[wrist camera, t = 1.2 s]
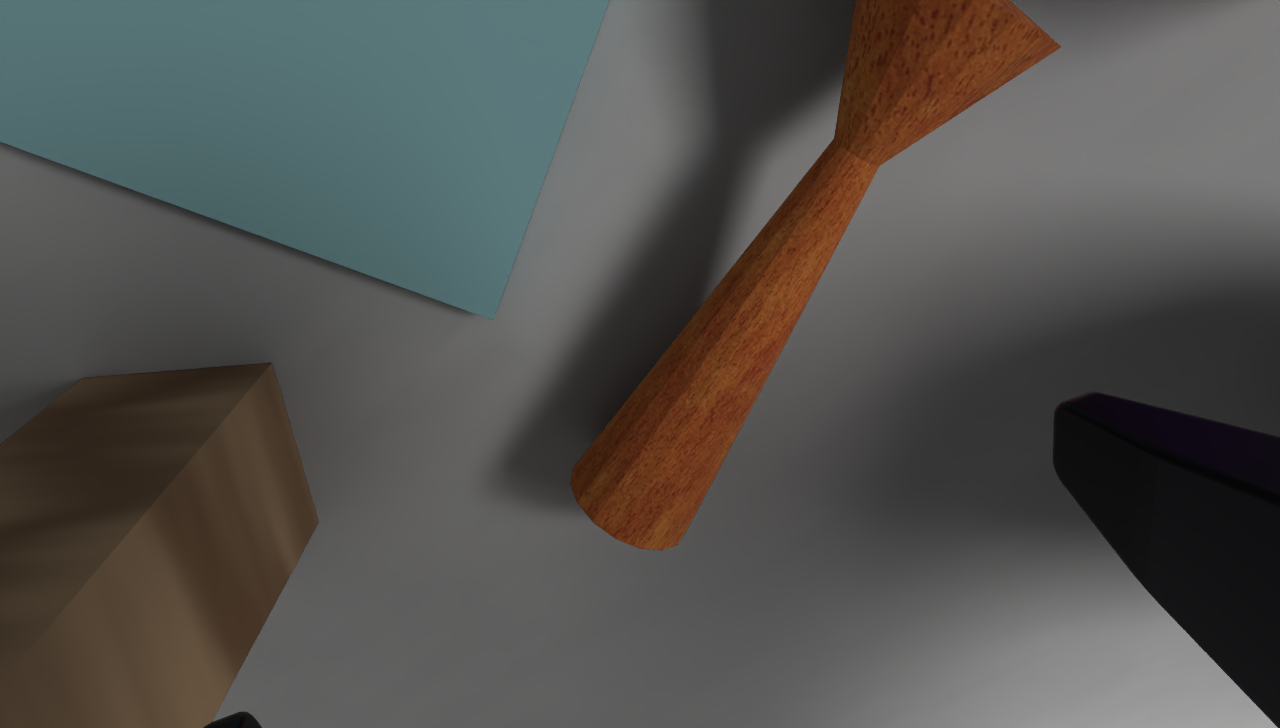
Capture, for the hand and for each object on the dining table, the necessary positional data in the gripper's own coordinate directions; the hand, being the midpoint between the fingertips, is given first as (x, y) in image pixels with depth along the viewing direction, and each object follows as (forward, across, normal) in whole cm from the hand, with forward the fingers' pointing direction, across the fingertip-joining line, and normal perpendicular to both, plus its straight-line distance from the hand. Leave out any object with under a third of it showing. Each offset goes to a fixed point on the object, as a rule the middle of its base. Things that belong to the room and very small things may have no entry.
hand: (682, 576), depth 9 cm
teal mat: (+15, +2, -5) cm, 16 cm away
